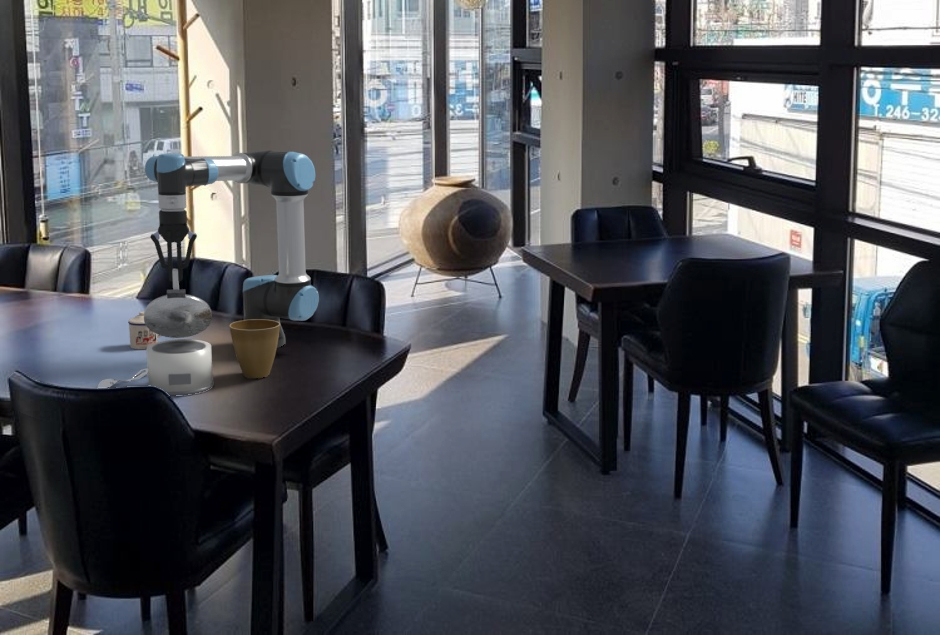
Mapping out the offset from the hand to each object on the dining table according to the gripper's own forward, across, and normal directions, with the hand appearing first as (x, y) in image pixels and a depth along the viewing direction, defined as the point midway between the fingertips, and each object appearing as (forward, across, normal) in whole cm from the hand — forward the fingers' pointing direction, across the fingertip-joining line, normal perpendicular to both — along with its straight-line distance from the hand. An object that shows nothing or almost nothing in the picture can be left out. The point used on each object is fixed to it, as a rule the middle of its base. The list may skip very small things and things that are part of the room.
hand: (176, 292), depth 313 cm
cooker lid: (+8, 0, +3) cm, 8 cm away
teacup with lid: (+28, -11, +50) cm, 59 cm away
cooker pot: (+28, 0, 0) cm, 28 cm away
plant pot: (+28, +22, +8) cm, 37 cm away
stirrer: (+29, -16, +9) cm, 34 cm away
